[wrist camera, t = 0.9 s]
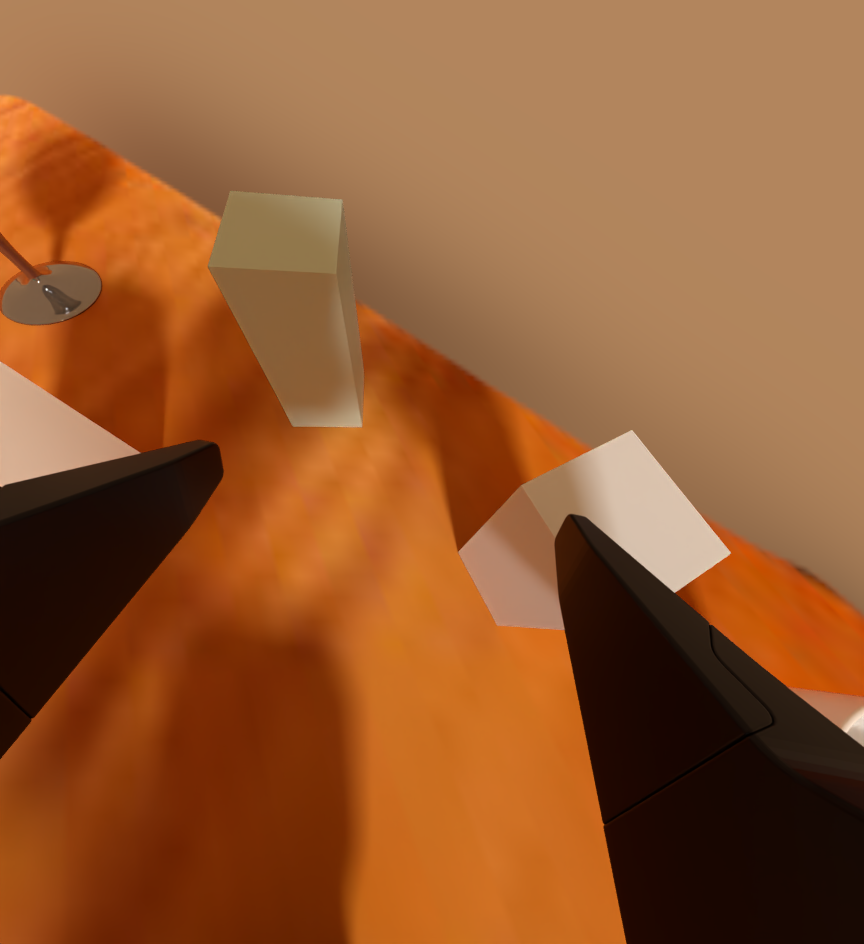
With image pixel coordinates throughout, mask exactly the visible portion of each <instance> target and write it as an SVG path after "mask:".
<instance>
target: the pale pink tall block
mask: <svg viewBox="0 0 864 944" xmlns="http://www.w3.org/2000/svg"><path fill="white" fill-rule="evenodd" d="M568 514H576V515H581V516H585V517H587V518H588V519H589V520H590V521H591V522H592V523H594V524H595V525H596V526H597V527H598V528H599V529H601V530H602V531H603V532H604V533H605V534H606V535H608V536H609V537H610V538H611V539H612V540H613V541H615V542H616V543H617V544H618V545H619V546H620V547H622V548H623V549H624V550H625V551H626V552H627V553H629V554H630V555H631V556H632V557H633V558H634V559H636V560H637V561H638V562H639V563H640V564H641V565H643V566H644V567H645V568H646V569H647V570H648V571H650V572H651V573H652V574H653V575H654V576H655V577H657V578H658V579H659V580H660V581H661V582H663V583H664V584H665V585H666V586H667V587H668V588H670V589H671V590H672V591H673V592H674V593H675V592H676V591H678V590H679V589H681V588H682V587H684V586H685V585H687V584H688V583H689V582H691V581H692V580H694V579H695V578H697V577H698V576H699V575H701V574H702V573H704V572H705V571H707V570H708V569H710V568H711V567H712V566H714V565H715V564H717V563H718V562H720V561H721V560H722V559H724V558H725V557H727V556H728V555H730V554H731V553H730V551H729V550H728V549H727V548H726V546H725V545H724V544H723V543H722V541H721V540H720V539H719V538H718V536H717V535H716V534H715V533H714V531H713V530H712V529H711V528H710V526H709V525H708V524H707V523H706V521H705V520H704V519H703V518H702V517H701V515H700V514H699V513H698V512H697V510H696V509H695V508H694V507H693V505H692V504H691V503H690V502H689V500H688V499H687V498H686V497H685V495H684V494H683V493H682V492H681V490H680V489H679V488H678V487H677V485H676V484H675V483H674V482H673V480H672V479H671V478H670V477H669V476H668V474H667V473H666V472H665V471H664V469H663V468H662V467H661V466H660V464H659V463H658V462H657V461H656V459H655V458H654V457H653V456H652V455H651V453H650V452H649V451H648V449H647V448H646V447H645V446H644V444H643V443H642V442H641V441H640V440H639V438H638V437H637V436H636V434H635V433H634V432H633V431H632V430H631V431H629V432H627V433H625V434H623V435H621V436H619V437H617V438H615V439H613V440H611V441H609V442H607V443H605V444H603V445H601V446H599V447H597V448H595V449H593V450H591V451H589V452H587V453H585V454H583V455H581V456H579V457H577V458H575V459H573V460H571V461H569V462H567V463H565V464H563V465H561V466H559V467H557V468H555V469H553V470H551V471H549V472H547V473H545V474H543V475H541V476H539V477H537V478H535V479H533V480H531V481H529V482H527V483H524V484H522V485H521V486H520V487H519V488H518V489H517V490H516V491H515V492H514V493H513V494H512V495H511V496H510V498H509V499H508V500H507V501H506V502H505V503H504V504H503V505H502V506H501V507H500V508H499V509H498V510H497V511H496V512H495V513H494V514H493V516H492V517H491V518H490V519H489V520H488V521H487V522H486V523H485V524H484V525H483V526H482V527H481V528H480V529H479V530H478V531H477V532H476V534H475V535H474V536H473V537H472V538H471V539H470V540H469V541H468V542H467V543H466V544H465V545H464V546H463V547H462V548H461V549H460V551H459V552H458V553H459V555H460V557H461V559H462V561H463V563H464V564H465V566H466V568H467V570H468V572H469V574H470V576H471V578H472V579H473V581H474V583H475V585H476V587H477V589H478V591H479V592H480V594H481V596H482V598H483V600H484V602H485V604H486V605H487V607H488V609H489V611H490V613H491V615H492V617H493V618H494V620H495V622H496V624H497V625H498V626H513V627H528V628H543V629H558V630H565V629H564V624H563V619H562V614H561V609H560V603H559V596H558V586H557V574H556V561H555V548H554V542H555V538H556V535H557V533H558V531H559V529H560V527H561V525H562V523H563V521H564V519H565V518H566V516H567V515H568Z"/></svg>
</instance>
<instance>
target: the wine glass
mask: <svg viewBox="0 0 864 944" xmlns="http://www.w3.org/2000/svg"><path fill="white" fill-rule="evenodd" d="M0 252H1V253H2V254H3V255H4V256H6V257H7V258H8V259H9V260H10V261H11V262H12V263H13V264H15V265H16V266H17V267H18V268H19V269H20V270H21V272H19V273H17V274H16V275H14V276H13V277H12V278H10V279H9V280H8V281H7V282H6V283H5V284H4V285H3V287H2V288H1V290H0V311H1V312H2V314H3V315H4V316H6V317H7V318H8V319H10V320H12V321H14V322H18V323H21V324H27V325H47V324H53V323H58V322H61V321H65V320H68V319H70V318H72V317H75V316H77V315H78V314H80V313H82V312H84V311H85V310H86V309H88V308H89V307H90V306H91V305H92V304H93V303H94V302H95V301H96V299H97V298H98V297H99V295H100V292H101V288H102V282H101V279H100V277H99V275H98V274H97V273H96V271H94V270H93V269H92V268H90V267H88V266H86V265H84V264H81V263H77V262H71V261H53V262H47V263H42V264H38V265H35V266H32V265H31V264H29V263H28V262H27V261H26V260H25V259H24V258H23V257H22V256H21V255H20V254H19V253H18V252H17V251H16V250H15V249H14V247H13V246H12V245H11V244H10V243H9V242H8V241H7V240H6V239H5V237H4V236H3V235H2V234H1V233H0Z"/></svg>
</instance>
